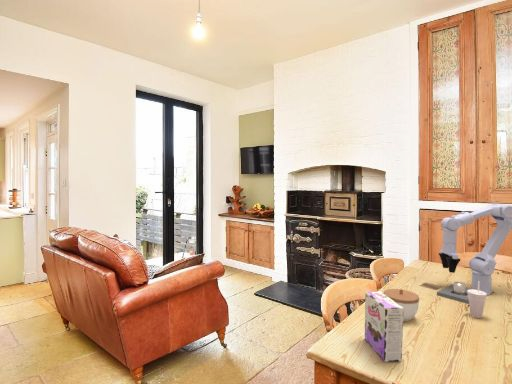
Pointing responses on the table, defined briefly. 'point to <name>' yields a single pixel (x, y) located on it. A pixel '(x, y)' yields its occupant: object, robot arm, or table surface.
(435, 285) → the tab
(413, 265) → the table surface
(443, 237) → the robot arm
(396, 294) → the lidded bowl
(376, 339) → the candy box
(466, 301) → the hole plate
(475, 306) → the smoothie
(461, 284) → the steel peg
